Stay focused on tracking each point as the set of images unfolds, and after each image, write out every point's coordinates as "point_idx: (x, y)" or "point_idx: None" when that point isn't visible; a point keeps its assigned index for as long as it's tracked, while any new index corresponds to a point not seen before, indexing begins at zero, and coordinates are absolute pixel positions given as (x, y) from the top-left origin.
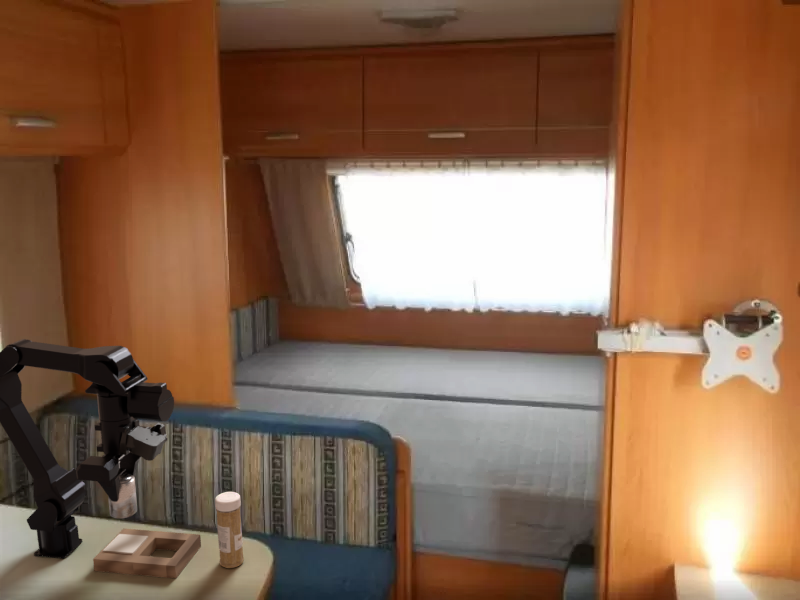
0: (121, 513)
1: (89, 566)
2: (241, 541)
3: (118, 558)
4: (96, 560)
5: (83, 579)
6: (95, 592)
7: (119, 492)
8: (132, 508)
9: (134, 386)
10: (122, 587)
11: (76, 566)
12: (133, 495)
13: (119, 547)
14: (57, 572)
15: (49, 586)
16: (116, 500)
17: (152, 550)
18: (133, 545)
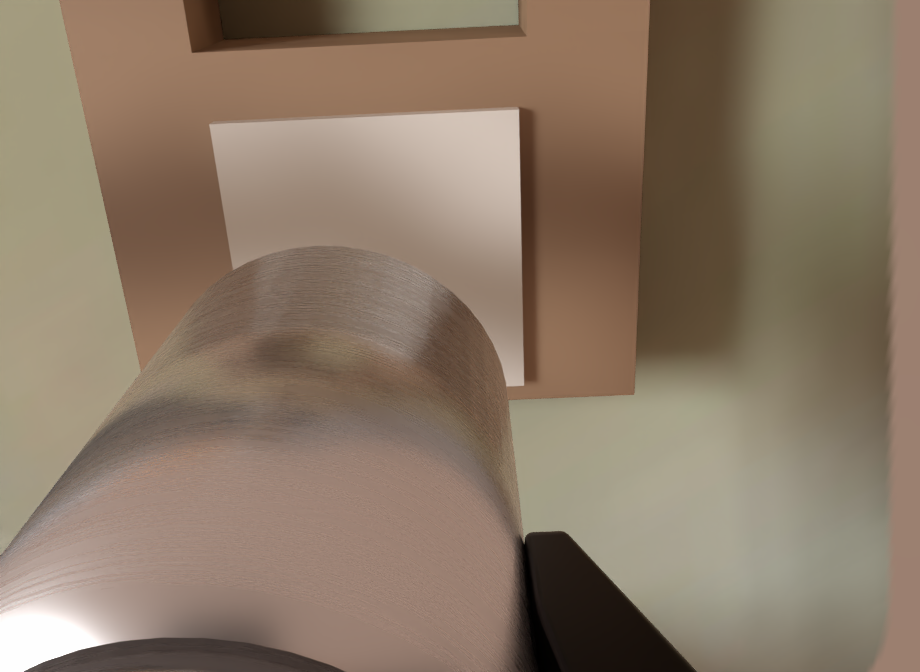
0: (496, 378)
1: (562, 411)
2: None
3: (602, 199)
4: (632, 364)
5: (721, 362)
6: (879, 190)
7: (525, 615)
8: (367, 286)
9: None
10: (809, 14)
11: (575, 487)
12: (278, 371)
13: (457, 278)
14: (656, 554)
15: (813, 513)
16: (576, 547)
17: (282, 39)
18: (397, 174)
